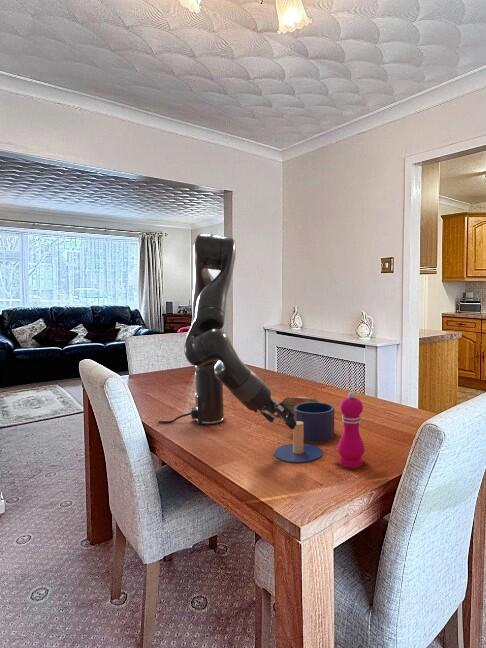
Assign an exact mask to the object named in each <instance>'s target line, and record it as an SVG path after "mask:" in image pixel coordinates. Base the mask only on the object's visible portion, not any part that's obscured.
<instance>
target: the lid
mask: <svg viewBox="0 0 486 648" xmlns="http://www.w3.org/2000/svg"><path fill="white" fill-rule="evenodd" d="M296 422H297V424H296V426H295V428H294V429H292V443H287V444H284V445H280V446H278V447H276V449H274V452H273V455H274V458H275V459H277V460H279V461H281V462H283V463H284V462H285V463H288V464H289V463H290V464H307V463H312V462H315V461H317V460H319V459H321V458H322V456H323V450H322V449H321V448H320V447H318V446H316V445H313V444H310V443H305V441H304V423H303V422H301V421H296Z"/></svg>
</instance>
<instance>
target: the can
mask: <svg viewBox="0 0 486 648" xmlns="http://www.w3.org/2000/svg"><path fill="white" fill-rule="evenodd" d="M294 420H295V421H301V422H303V423H304V442H307V443H322V442H327V441H330V440H333V438H334V437H335V406H334V405H332V404H331V403H326V402H321V401H319V402H308V403H301V404H298V405H296V406H294Z"/></svg>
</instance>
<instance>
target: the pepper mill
mask: <svg viewBox="0 0 486 648" xmlns="http://www.w3.org/2000/svg"><path fill="white" fill-rule="evenodd" d="M339 410H340V412H341V414H342V415H341V421H342V422H343V430H342V434H341V437H340V439H339V440H338V443H337V453H338V454H339V455H340V456H339V457H338V463H339V465H341V466H342V467H345V468H350V469H351V468H354V469H355V468H359V467H362V466H363V463H364V460H363V457H362V456H363V455H364V454H365V452H366V451H365V443H364V441H363V439H362V437H361V434H360V423H361V421H362V419H361V418H362V416H361V414H363V413H362V412H363V410H364V405H363V402H362V401H361V400H360V399H359V398H357V397H356V394H355V392H354V391H350V392H348V394H347V397H346V398H344V399H342V400H341V402H340V405H339Z"/></svg>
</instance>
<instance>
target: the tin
mask: <svg viewBox="0 0 486 648" xmlns="http://www.w3.org/2000/svg"><path fill="white" fill-rule="evenodd" d="M281 402H282V403H283V404H284V405H285V406H286V407H287V408H288V409H289V410H290V411H291V412H292V413H293V414H294V406H296V405H298V404H301V403H308V402H320V401H319V400H317V399H316V398H313V397H303V396H295V395H294V396H293V395H292V396H288V397H285V398H284V399H282V401H281ZM293 419H294V417H293Z"/></svg>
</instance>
